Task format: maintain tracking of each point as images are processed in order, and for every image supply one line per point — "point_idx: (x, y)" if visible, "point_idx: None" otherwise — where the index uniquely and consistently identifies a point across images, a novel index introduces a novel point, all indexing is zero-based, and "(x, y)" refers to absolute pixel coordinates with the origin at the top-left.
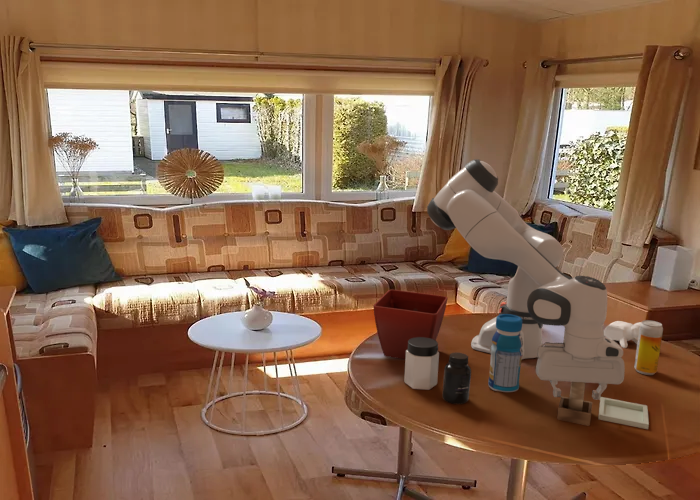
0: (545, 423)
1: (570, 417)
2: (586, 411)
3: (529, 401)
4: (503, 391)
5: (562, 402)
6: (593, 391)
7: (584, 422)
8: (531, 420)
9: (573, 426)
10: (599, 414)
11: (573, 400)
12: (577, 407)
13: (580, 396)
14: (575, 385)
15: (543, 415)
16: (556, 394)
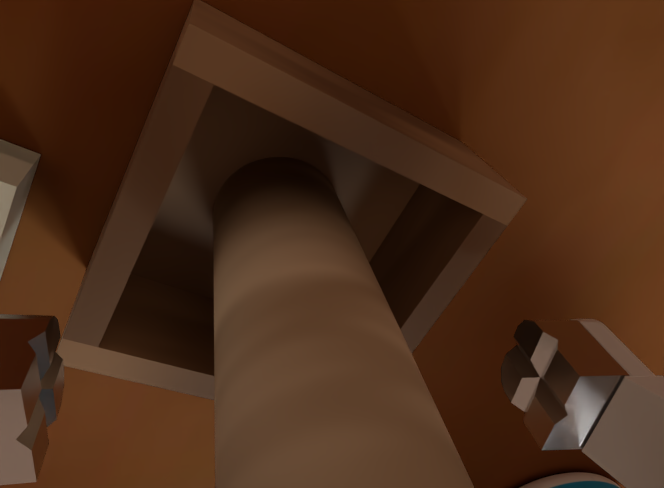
0: (576, 105)
1: (390, 112)
2: (132, 285)
3: (487, 410)
4: (593, 478)
5: (408, 322)
6: (32, 446)
7: (251, 36)
8: (650, 154)
9: (352, 45)
10: (9, 190)
11: (372, 281)
12: (305, 216)
13: (307, 310)
14: (462, 478)
15: (509, 238)
16: (603, 339)
